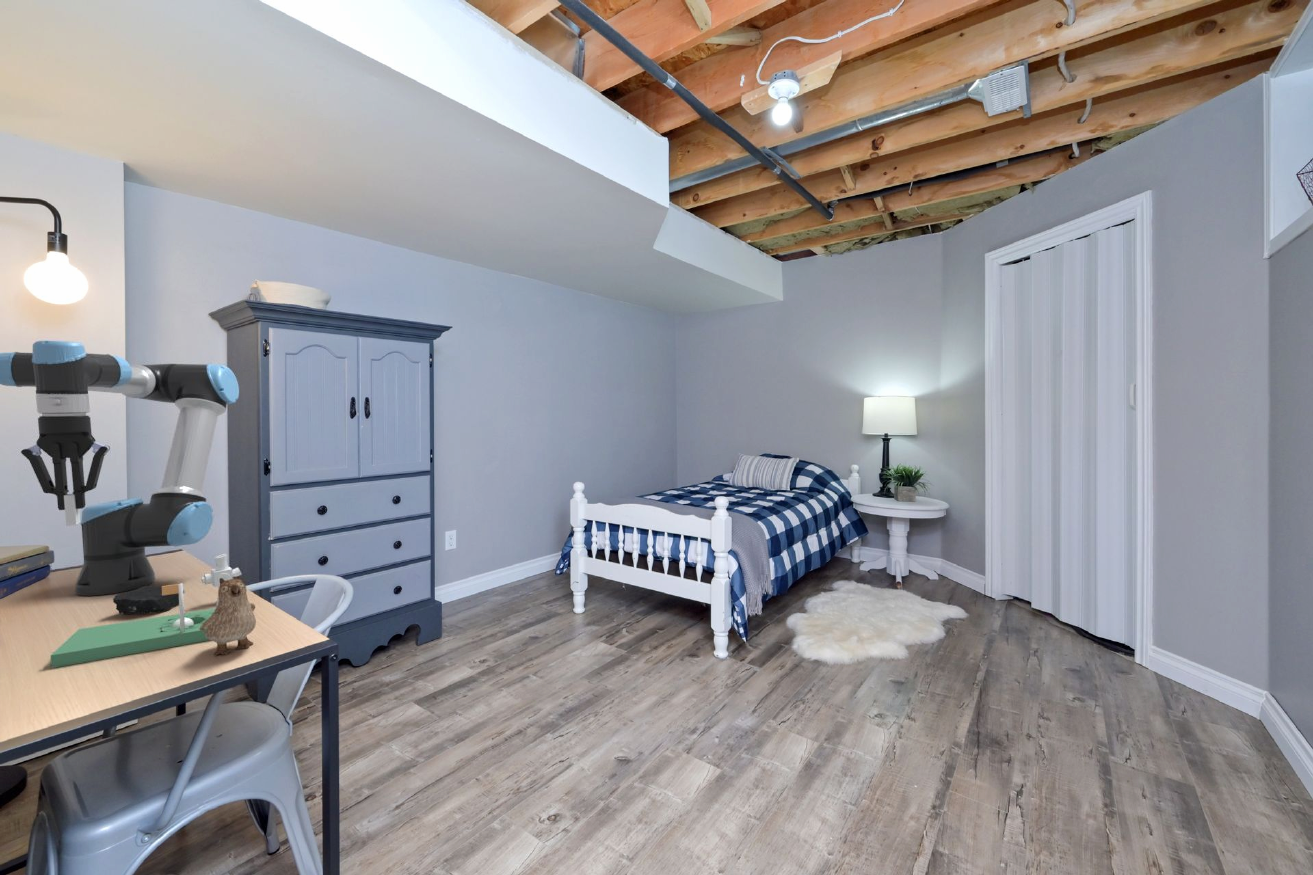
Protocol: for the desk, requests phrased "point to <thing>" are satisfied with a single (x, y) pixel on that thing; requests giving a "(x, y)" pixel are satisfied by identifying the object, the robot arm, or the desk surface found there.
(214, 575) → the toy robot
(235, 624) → the figurine
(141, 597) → the rock
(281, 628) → the desk surface
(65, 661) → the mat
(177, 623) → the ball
